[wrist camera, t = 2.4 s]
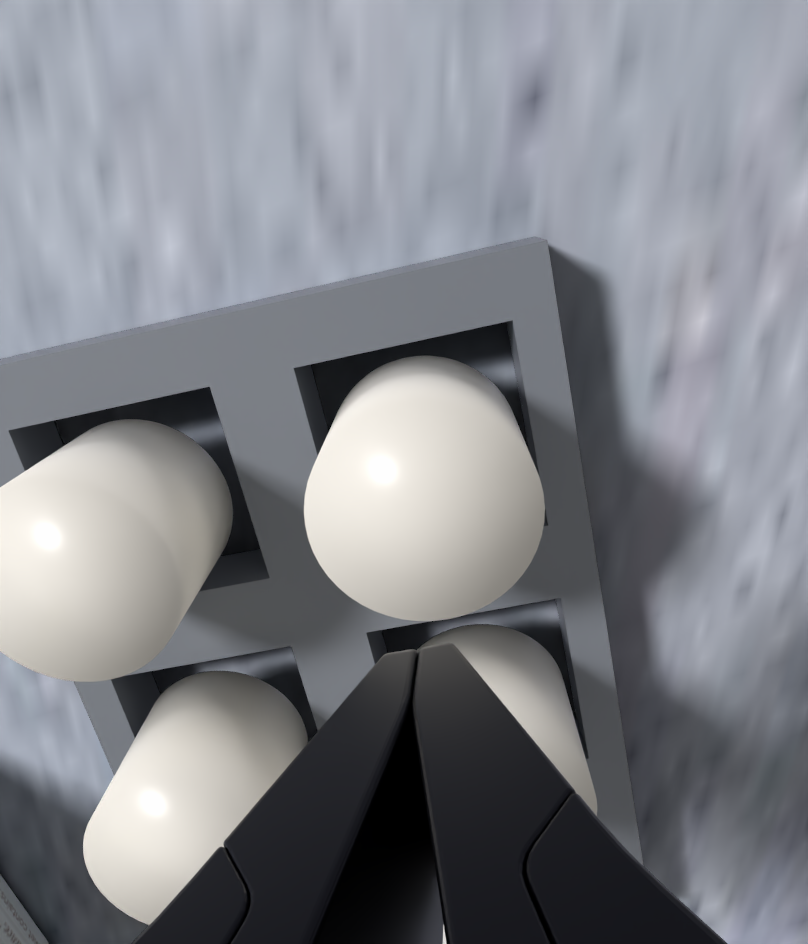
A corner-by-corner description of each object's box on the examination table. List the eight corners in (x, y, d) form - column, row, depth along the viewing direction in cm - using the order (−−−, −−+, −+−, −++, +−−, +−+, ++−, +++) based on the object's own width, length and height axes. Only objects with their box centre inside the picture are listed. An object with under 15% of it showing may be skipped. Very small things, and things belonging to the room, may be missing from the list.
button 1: (201, 401, 17) (137, 455, 13) (254, 569, 19) (210, 661, 15) (24, 439, 18) (-86, 502, 14) (90, 601, 19) (6, 698, 15)
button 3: (501, 336, 16) (523, 375, 13) (533, 516, 18) (562, 599, 14) (309, 378, 17) (275, 427, 13) (355, 550, 18) (336, 638, 15)
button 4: (550, 610, 19) (581, 711, 15) (576, 751, 20) (610, 876, 16) (380, 640, 19) (368, 746, 15) (416, 776, 21) (414, 903, 17)
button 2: (283, 657, 19) (248, 766, 16) (325, 790, 21) (302, 919, 17) (125, 686, 20) (53, 797, 16) (177, 814, 21) (122, 945, 18)
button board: (534, 236, 18) (550, 240, 15) (635, 872, 24) (657, 941, 22) (-9, 361, 19) (-68, 381, 17) (222, 930, 25) (202, 1000, 23)
